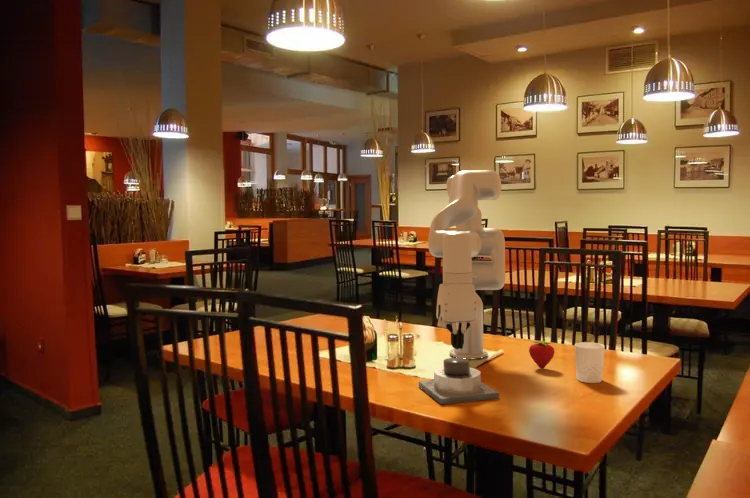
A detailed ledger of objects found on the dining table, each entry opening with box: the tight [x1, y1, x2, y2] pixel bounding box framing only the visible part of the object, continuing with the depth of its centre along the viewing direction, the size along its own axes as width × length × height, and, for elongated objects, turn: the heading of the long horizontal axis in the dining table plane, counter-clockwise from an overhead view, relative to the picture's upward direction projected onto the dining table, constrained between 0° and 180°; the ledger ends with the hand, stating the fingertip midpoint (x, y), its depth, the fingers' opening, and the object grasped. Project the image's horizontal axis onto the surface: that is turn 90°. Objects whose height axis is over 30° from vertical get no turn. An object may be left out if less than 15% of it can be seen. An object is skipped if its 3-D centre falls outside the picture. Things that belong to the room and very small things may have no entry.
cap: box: [443, 357, 471, 375], centre depth 158 cm, size 7×7×7 cm
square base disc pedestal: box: [418, 366, 500, 405], centre depth 158 cm, size 16×16×6 cm
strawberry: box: [528, 337, 555, 369], centre depth 181 cm, size 6×8×10 cm
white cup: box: [574, 341, 605, 384], centre depth 168 cm, size 8×8×10 cm
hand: (457, 347), depth 158 cm, fingers closed
